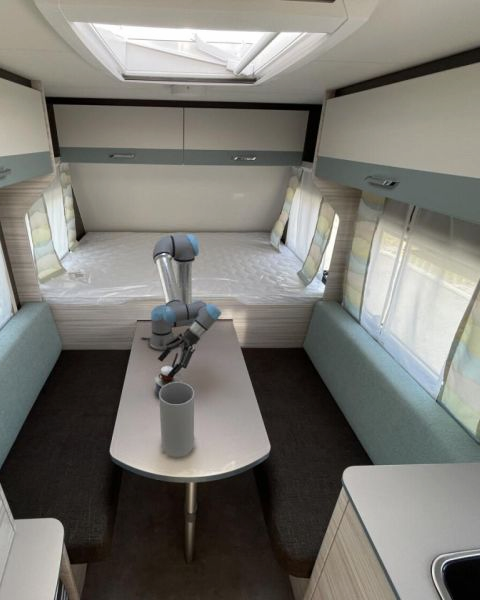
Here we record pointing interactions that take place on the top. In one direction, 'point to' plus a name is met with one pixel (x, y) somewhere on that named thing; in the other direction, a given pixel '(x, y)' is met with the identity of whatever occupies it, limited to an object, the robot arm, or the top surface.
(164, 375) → the cocoa
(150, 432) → the top surface
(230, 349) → the top surface
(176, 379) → the beige and blue cylinder
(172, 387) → the cylinder vase
